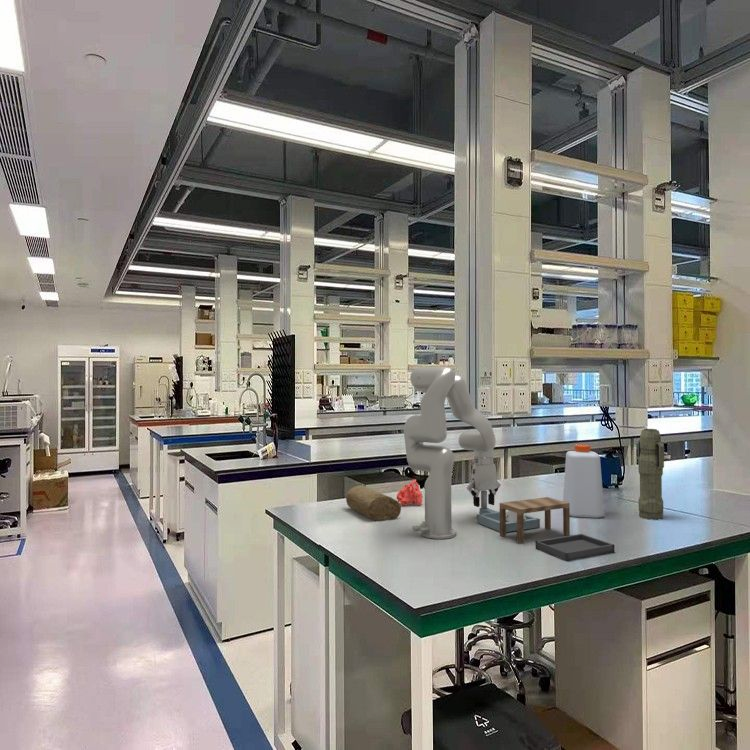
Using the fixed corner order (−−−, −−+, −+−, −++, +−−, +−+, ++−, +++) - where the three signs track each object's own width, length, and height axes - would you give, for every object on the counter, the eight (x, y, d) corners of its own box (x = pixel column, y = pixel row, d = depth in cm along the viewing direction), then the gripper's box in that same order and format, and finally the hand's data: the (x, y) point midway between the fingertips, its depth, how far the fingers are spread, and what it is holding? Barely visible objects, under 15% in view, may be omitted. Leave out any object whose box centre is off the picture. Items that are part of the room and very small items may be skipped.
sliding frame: (539, 527, 209) (539, 500, 209) (502, 532, 202) (502, 504, 202) (499, 512, 231) (499, 488, 231) (464, 517, 223) (464, 492, 224)
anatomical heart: (395, 509, 246) (391, 482, 249) (417, 506, 252) (413, 480, 255) (406, 507, 239) (402, 480, 241) (429, 504, 245) (424, 477, 248)
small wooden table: (520, 543, 189) (519, 509, 189) (499, 535, 199) (499, 503, 199) (569, 535, 198) (569, 503, 198) (547, 528, 208) (547, 497, 208)
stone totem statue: (656, 521, 216) (656, 431, 216) (630, 515, 227) (630, 428, 227) (672, 519, 220) (671, 430, 220) (645, 512, 231) (645, 427, 231)
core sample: (372, 505, 247) (372, 483, 247) (401, 519, 223) (401, 494, 223) (343, 509, 241) (343, 486, 241) (370, 523, 217) (369, 497, 217)
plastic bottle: (606, 519, 221) (605, 448, 221) (566, 517, 224) (565, 447, 224) (599, 510, 236) (598, 443, 236) (561, 508, 239) (560, 442, 239)
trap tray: (566, 561, 171) (566, 553, 171) (535, 548, 184) (535, 541, 184) (614, 552, 179) (614, 544, 179) (581, 540, 192) (581, 533, 192)
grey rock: (499, 526, 214) (495, 509, 209) (516, 513, 216) (512, 496, 211) (514, 538, 207) (510, 521, 202) (532, 525, 210) (528, 508, 205)
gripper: (471, 463, 219) (471, 509, 219) (507, 460, 226) (507, 505, 226) (460, 461, 226) (460, 505, 226) (495, 458, 233) (495, 501, 233)
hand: (484, 505), depth 226 cm, fingers open, 6 cm apart
